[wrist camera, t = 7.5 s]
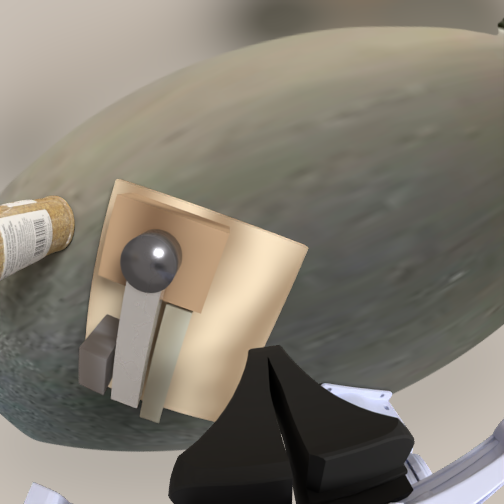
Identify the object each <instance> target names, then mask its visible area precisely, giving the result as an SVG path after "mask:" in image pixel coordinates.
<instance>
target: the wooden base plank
mask: <svg viewBox="0 0 504 504" xmlns="http://www.w3.org/2000/svg"><path fill="white" fill-rule="evenodd" d="M152 229H160V230H164V231H166V232H168V233H170V234H171V235H173V236H174V237H175V238H176V240H177V241H178V243H179V244H180V247H181V250H182V263H181V266H180V268H179V270H178V272H177V273H176V275H175V277H174V279H173V280H172V282H171V283H170V285H169V286H168V287H167V288H166V289H165V292H164V296H163V300H162V304H161V308H160V312H159V316H158V320H157V324H156V328H155V333H154V337H153V342H152V346H151V351H150V355H149V360H148V365H147V370H146V375H145V380H144V386H143V391H142V396H141V398H140V400H143V402H142V407H141V412H140V417H142V418H145V419H148V420H151V421H154V422H157V423H159V420H160V417H161V413H162V410H163V408H166V409H170V410H173V411H176V412H180V413H183V414H187V415H190V416H194V417H198V418H202V419H206V420H210V421H214V422H215V421H216V420H217V419H218V418H219V416H220V415H221V413H222V412H223V411H224V409H225V408H226V406H227V405H228V403H229V401H230V400H231V398H232V396H233V394H234V392H235V390H236V388H237V386H238V384H239V382H240V380H241V377H242V374H243V372H244V369H245V365H246V362H247V357H248V351H249V350H250V349H253V348H261V347H264V346H265V344H266V341H267V339H268V337H269V335H270V333H271V331H272V329H273V327H274V325H275V322H276V320H277V318H278V316H279V314H280V312H281V309H282V307H283V305H284V303H285V301H286V298H287V296H288V294H289V292H290V289H291V287H292V285H293V283H294V280H295V278H296V276H297V274H298V271H299V269H300V267H301V264H302V262H303V260H304V257H305V255H306V253H307V250H308V247H306V246H305V245H303V244H301V243H298V242H296V241H293V240H290V239H288V238H285V237H282V236H280V235H277V234H275V233H272V232H269V231H267V230H264V229H261V228H259V227H256V226H253V225H250V224H248V223H245V222H242V221H240V220H237V219H234V218H231V217H229V216H226V215H223V214H220V213H218V212H215V211H212V210H209V209H206V208H204V207H201V206H198V205H195V204H192V203H189V202H187V201H184V200H181V199H178V198H175V197H172V196H169V195H166V194H164V193H161V192H158V191H155V190H152V189H149V188H146V187H143V186H140V185H137V184H134V183H131V182H128V181H125V180H122V179H116V182H115V185H114V188H113V192H112V195H111V198H110V202H109V206H108V209H107V213H106V217H105V221H104V225H103V229H102V234H101V238H100V243H99V247H98V252H97V257H96V263H95V268H94V274H93V280H92V286H91V293H90V301H89V309H88V318H87V328H86V340H85V341H84V342H83V343H82V345H81V346H80V347H79V384H81V385H83V386H85V387H87V388H89V389H91V390H93V391H95V392H98V393H100V394H102V395H104V393H105V391H106V389H107V387H109V388H112V378H113V367H114V358H115V349H116V341H117V334H118V327H119V321H120V314H121V309H122V303H123V297H124V292H125V287H126V282H127V281H126V279H125V277H124V276H123V273H122V271H121V266H120V258H121V253H122V251H123V249H124V247H125V245H126V244H127V243H128V242H129V241H130V240H132V239H133V238H135V237H137V236H139V235H140V234H142V233H144V232H146V231H148V230H152Z"/></svg>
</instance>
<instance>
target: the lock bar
mask: <svg viewBox="0 0 504 504" xmlns="http://www.w3.org/2000/svg"><path fill="white" fill-rule="evenodd" d="M181 263H182V250H181V247H180V244H179V243H178V241H177V240H176V238H175V237H174V236H173V235H171V234H170V233H168V232H166V231H164V230H160V229H152V230H148V231H146V232H144V233H142V234H140V235H139V236H137V237H135V238H133V239H132V240H130V241H129V242H128V243H127V244H126V245H125V247H124V249H123V251H122V253H121V258H120V266H121V271H122V273H123V276H124V277H125V279H126V281H127V282H126V287H125V292H124V297H123V303H122V309H121V314H120V321H119V327H118V334H117V341H116V349H115V358H114V367H113V378H112V391H111V399H113V400H116V401H118V402H121V403H123V404H126V405H129V406H131V407H134V408H137V407H138V404H139V401H140V398H141V396H142V391H143V386H144V380H145V375H146V370H147V365H148V360H149V355H150V351H151V346H152V342H153V337H154V333H155V328H156V324H157V320H158V316H159V312H160V308H161V304H162V300H163V296H164V292H165V289H166V288H167V287H168V286H169V285H170V283H171V282H172V280H173V279H174V277H175V275H176V273H177V272H178V270H179V268H180V266H181Z"/></svg>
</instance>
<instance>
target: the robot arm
mask: <svg viewBox="0 0 504 504" xmlns="http://www.w3.org/2000/svg"><path fill="white" fill-rule="evenodd" d="M329 388H330V389H329ZM327 389H328V390H327ZM391 396H392V393H391V391H382V390H372V389H363V388H355V387H347V386H340V385H334V384H327V383H324V384H322V385H320V384H318V383H317V382H316V381H315V380H313V379H312V378H311V377H310V376H309V375H307V374H306V373H305V372H304V371H303V370H302V369H301V368H300V367H299V366H298V365H297V364H296V363H295V362H294V361H293V360H292V359H291V358H290V357H289V355H288V354H287V353H286V352H285V350H284V349H283V348H282V347H281V346H280V345H276V346H269V347H261V348H253V349H250V350H249V351H248V357H247V362H246V365H245V369H244V372H243V374H242V377H241V380H240V382H239V384H238V386H237V388H236V390H235V392H234V394H233V396H232V398H231V400H230V401H229V403H228V405H227V406H226V408H225V409H224V411H223V412H222V413H221V415H220V416H219V418H218V419H217V420H216V421H215V423H214V424H213V425H212V426H211V427H210V428H209V429H208V430H207V431H206V432H205V434H204V435H203V436H202V437H201V438H200V439H199V440H198V441H196V442H195V443H194V444H193V445H192V446H191V447H189V448H188V449H187V450H186V451H184V452H183V453H182V454H181V455H179V456H178V458H177V460H176V463H175V465H174V468H173V471H172V474H171V478H170V486H169V494H168V496H169V498H170V499H171V501H172V502H173V503H174V504H292V487H293V490H294V495H295V501H296V504H482V503H483V502H484V501H485V500H487V499H488V498H489V497H490V496H491V495H493V493H495V492H496V491H497V490H498V489H499V488H501V487H502V486H503V485H504V419H503V420H502V421H501V422H500V423H499V425H498V426H497V428H496V429H495V431H494V433H493V434H492V435H491V436H490V437H489V438H487V439H486V440H485V441H484V442H482V443H481V444H479V445H478V446H476V447H475V448H474V449H472V450H471V451H469V452H468V453H466V454H465V455H464V456H462V457H460V458H459V459H457V460H456V461H454V462H452V463H451V464H449V465H447V466H446V467H444V468H442V469H441V470H439V471H437V472H436V473H433V474H432V472H431V471H430V469H429V468H428V466H427V465H426V463H425V462H424V460H423V459H422V458H421V456H420V455H418V454H412V450H413V445H414V438H413V436H412V435H411V433H410V432H409V430H408V429H407V427H406V426H405V425H404V423H403V422H402V420H401V419H400V417H399V416H398V414H397V413H396V411H395V410H394V408H393V407H392V405H391V404H390V402H389V401H388V400H389V399H390V397H391ZM277 422H278V423H277ZM278 425H279V426H278ZM279 428H280V430H279ZM280 432H281V434H280ZM281 435H282V437H283V440H282V437H281ZM283 441H284V444H285V447H284V444H283ZM285 449H286V450H285ZM24 504H72V503H70V502H68V500H66V498H64V497H63V496H62V495H60V494H59V493H57V492H56V491H54V490H51V489H49V488H47V487H44V486H42V485H40V484H37V483H35V482H33V483H32V486H31V488H30V490H29V492H28V495H27V497H26V499H25V502H24Z"/></svg>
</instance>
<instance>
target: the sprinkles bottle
mask: <svg viewBox="0 0 504 504" xmlns="http://www.w3.org/2000/svg"><path fill="white" fill-rule="evenodd" d="M73 234H74V216H73V212H72V210H71V208H70V206H69V205H68V203H67V202H66V201H65V200H64V199H62V198H61V197H58V196H48V197H45V198H42V199H36V200H23V201H17V202H12V203H7V204H3V205H1V206H0V280H2V279H4V278H6V277H8V276H10V275H11V274H13V273H15V272H17V271H19V270H21V269H23V268H25V267H27V266H29V265H31V264H33V263H35V262H37V261H39V260H41V259H42V258H44V257H45V256H47V255H49V254H51V253H53V252H58V251H61V250H63V249H65V248H66V247H67V246H68V244H69V243H70V242H71V240H72V237H73Z"/></svg>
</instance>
